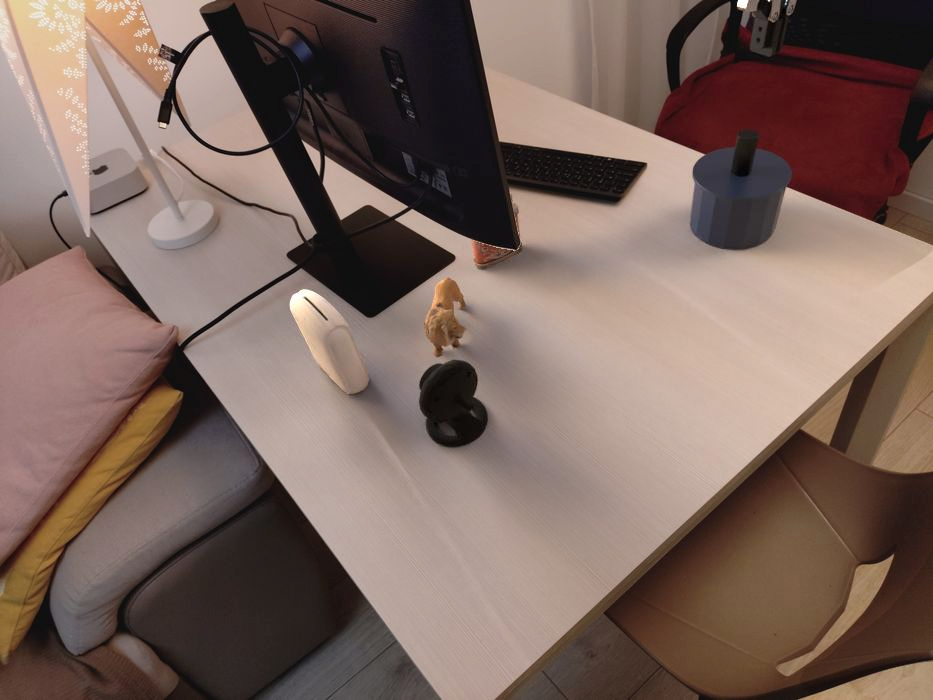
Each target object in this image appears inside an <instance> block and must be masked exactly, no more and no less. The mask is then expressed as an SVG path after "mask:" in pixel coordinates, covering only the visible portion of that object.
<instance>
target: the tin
mask: <svg viewBox="0 0 933 700" xmlns="http://www.w3.org/2000/svg"><path fill="white" fill-rule="evenodd" d="M693 185H694V186H693V194H692V200H691V208H690V214H689V228H690V231H691V232H692V234H693V235H694V236H695V237H696V238H697V239H698V240H700V241H701V242H702V243H705V244H707V245H709V246H712V247H714V248H719V249H723V250H746V249H751V248H755V247H758V246H760V245H762V244H764V243H766V242H767V241H768V240H769V239H770V238H771V237H772V236H773V234H774V232H775V230H776V228H777V225H778V220H779V216H780V212H781V209H782V205H783V202H784V201H783V200H784V197H785V192H786V189H787V187H786V188H785V189H784V190H783V191H781V192H780V193H778V194H776V195H774V196H771V197H769V198H765V199H761V200H754V201H733V200H727V199H722V198H718V197H715V196H713V195H710V194H708V193H706V192H705V191H703V190H702V189H700V188H699V187H698V186H697V185H696V183H695V182H694V184H693Z"/></svg>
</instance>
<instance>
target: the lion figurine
mask: <svg viewBox="0 0 933 700" xmlns="http://www.w3.org/2000/svg"><path fill="white" fill-rule="evenodd" d="M454 302H457V308H458V309H459V310H464V309H466V307H467V304H466V301H465V299H464V295H463V293H462V292H461V289H460V287H459V285H458V283H457V281H456V280H454V279H452V278H450V277H445V278H443V279H441V280H439V282H438V283H437V284H436V285H435V288H434V296H433V301H432V304H431V308H430V310H428V312H427V315H426V316H425V318H424V323H423V325H424V331H425V332H424V333H425V336H426V338H427V340H428V341H429V342H430V343H431V344H432V345H433V346H434V350H433V352H432V353H433V355H434V356H435V357H440V356H442V355H443V352H444V351H443V350H444V348H443V347H445V348H446V347H448V346H450V345H451V347H452V349H453V350H455V349H460V346H461V343H460V341H459V340H462V339H463V336H464V334H465V332H466V331H467V327H466V326H464V325H462V324H460V323H459V322H458V318H456V316H455V305H454Z"/></svg>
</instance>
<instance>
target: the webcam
mask: <svg viewBox="0 0 933 700" xmlns="http://www.w3.org/2000/svg"><path fill="white" fill-rule="evenodd" d="M478 384H479V378H478V373H477V370H476V368H475V367H474V366H473V365H472V364H471V363H470V362H468V361H466V360H463V359H451V360H448V361H446V362H443V363H440V362H438V363H434V364H431V365H430V366H428V368H427V369H426V370H425V371H424V372H423V373H422V375H421V377H420V379H419V384H418V387H419V390H420V391H419V398H418V405H419V409H420V412H421V414H422V415H423V416H424V417H425V418H426V419H425V429H426V432H427V434H428V436H429V438H430V439H431V440H432V441H433V442H435V443H436V444H437V445H440V446H443V447H446V448H447V447H448V448H459V447H464V446H467V445H469V444H472V443H473V442H475V441H477V440H478V439H479V438H480V437H481V436H482V435H483V434H484V432H485V430H486V429H487V427H488V423H489V414H488V410H487V408H486V406H485V405H484V403H483V402H482V401H481V400H479V399H478V398H477V397H475V394H476V393H477V389H478V386H479V385H478ZM471 411H473V412H474V414H475V415H474V414H472V413H471ZM440 423H446V424H447V425H448V426H449V427H451V428H452V429H453V430H454V431H455V432H454V433H455V434H454V435H452V434H448V433H447V434H446V433H445V432H443V431H442V430H441V429H440V428H439V424H440Z"/></svg>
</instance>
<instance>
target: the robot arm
mask: <svg viewBox="0 0 933 700" xmlns="http://www.w3.org/2000/svg"><path fill="white" fill-rule="evenodd" d="M796 4H797V0H738V1H737V5H736V9H737V10H739V11H743V12H746V13H751V16H752V17H753V18H754V22H753V27H752V32H751V33H752V34H751V39H750V44H749V51H751V52H753V53H755V54H760V55H762V56H765V57H768V58H770V57H772V56H774V55H775V54H779V53H781V52H782V51H783V47H784V41H785V36H786V32H787V28H788V22H789V18H790V17H789V16H790V15H791V14H793V12H794V10H795V7H796Z"/></svg>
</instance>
